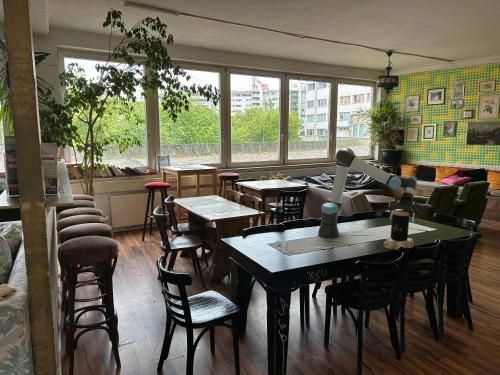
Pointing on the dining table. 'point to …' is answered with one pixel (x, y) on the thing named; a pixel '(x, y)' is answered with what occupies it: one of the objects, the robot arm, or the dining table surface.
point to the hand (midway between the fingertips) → (401, 220)
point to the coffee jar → (399, 226)
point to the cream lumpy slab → (398, 243)
